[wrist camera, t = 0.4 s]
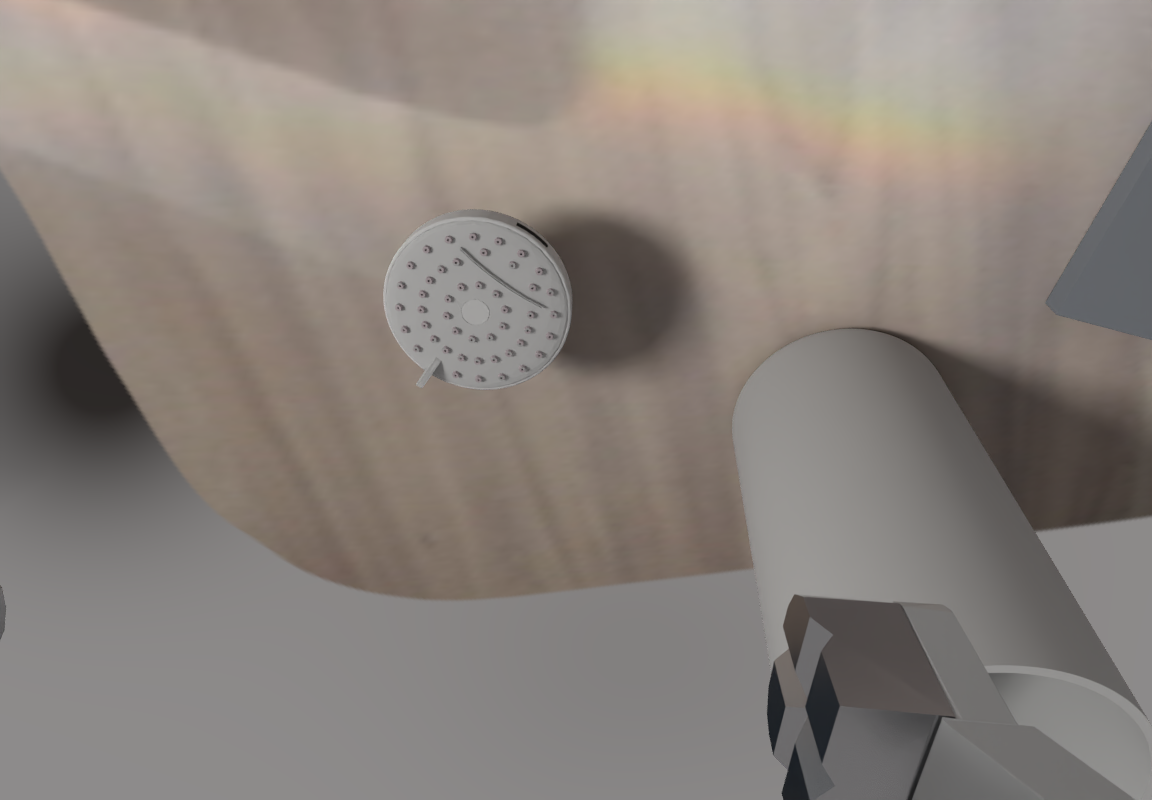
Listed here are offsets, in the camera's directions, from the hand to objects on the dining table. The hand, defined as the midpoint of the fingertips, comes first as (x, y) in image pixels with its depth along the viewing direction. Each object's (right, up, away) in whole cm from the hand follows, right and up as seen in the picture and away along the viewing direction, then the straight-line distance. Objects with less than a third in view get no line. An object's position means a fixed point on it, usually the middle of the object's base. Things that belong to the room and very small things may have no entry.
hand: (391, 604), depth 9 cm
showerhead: (-3, +10, +40) cm, 41 cm away
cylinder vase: (+18, +1, +44) cm, 47 cm away
